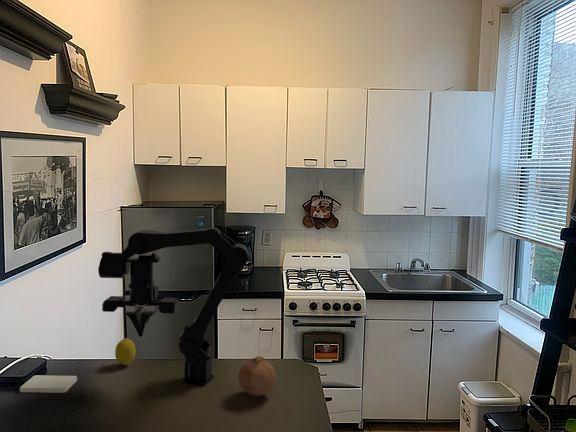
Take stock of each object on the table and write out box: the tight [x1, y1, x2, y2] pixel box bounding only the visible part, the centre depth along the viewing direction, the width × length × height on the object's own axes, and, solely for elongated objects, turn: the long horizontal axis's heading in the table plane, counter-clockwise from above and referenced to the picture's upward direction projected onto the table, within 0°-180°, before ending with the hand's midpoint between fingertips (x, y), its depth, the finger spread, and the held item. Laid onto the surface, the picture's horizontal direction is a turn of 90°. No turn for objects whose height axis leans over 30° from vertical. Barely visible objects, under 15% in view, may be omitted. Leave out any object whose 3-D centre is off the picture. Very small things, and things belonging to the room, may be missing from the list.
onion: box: [238, 355, 277, 398], centre depth 115 cm, size 10×9×10 cm
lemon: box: [114, 337, 136, 366], centre depth 131 cm, size 6×6×8 cm
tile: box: [19, 374, 78, 394], centre depth 117 cm, size 2×7×11 cm
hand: (141, 336), depth 121 cm, fingers closed
